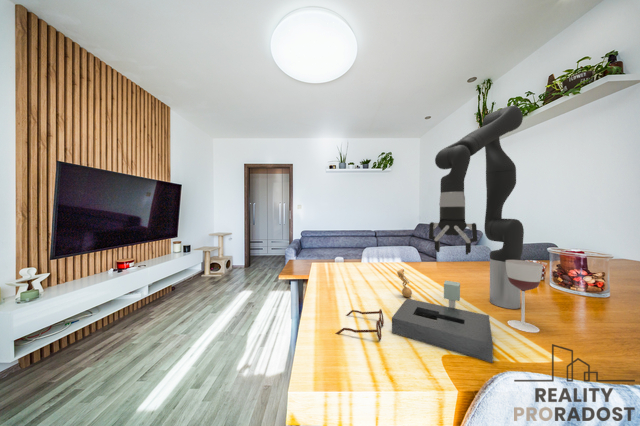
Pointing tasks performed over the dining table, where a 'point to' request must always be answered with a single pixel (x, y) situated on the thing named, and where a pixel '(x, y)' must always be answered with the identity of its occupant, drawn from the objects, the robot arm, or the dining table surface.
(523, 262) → the wineglass
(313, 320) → the dining table surface
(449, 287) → the keyhole peg
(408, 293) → the figurine
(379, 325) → the glasses
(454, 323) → the keyhole plate
